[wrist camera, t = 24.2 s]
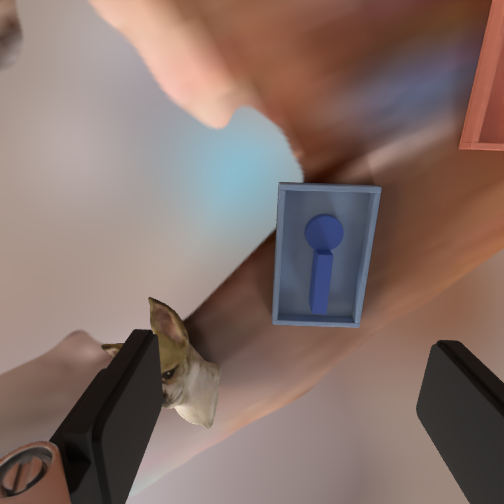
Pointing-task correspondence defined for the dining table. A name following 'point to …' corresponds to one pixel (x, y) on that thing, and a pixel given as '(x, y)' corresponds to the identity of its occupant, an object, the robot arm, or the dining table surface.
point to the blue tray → (344, 255)
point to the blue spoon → (322, 257)
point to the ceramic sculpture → (181, 368)
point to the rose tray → (487, 89)
